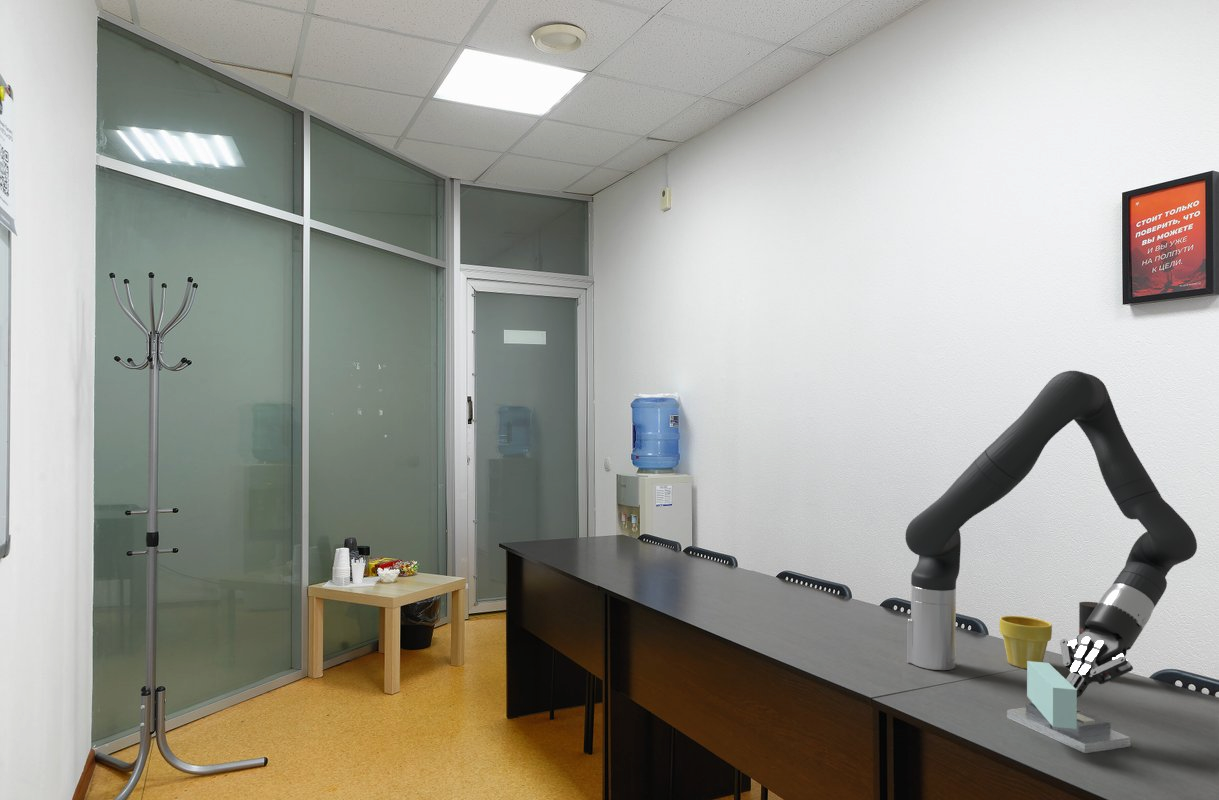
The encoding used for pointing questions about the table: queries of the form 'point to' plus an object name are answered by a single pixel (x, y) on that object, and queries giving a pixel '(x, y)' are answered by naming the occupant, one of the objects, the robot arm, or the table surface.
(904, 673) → the table surface
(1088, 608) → the deodorant
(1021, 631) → the plant pot
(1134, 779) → the table surface
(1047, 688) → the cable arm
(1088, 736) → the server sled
